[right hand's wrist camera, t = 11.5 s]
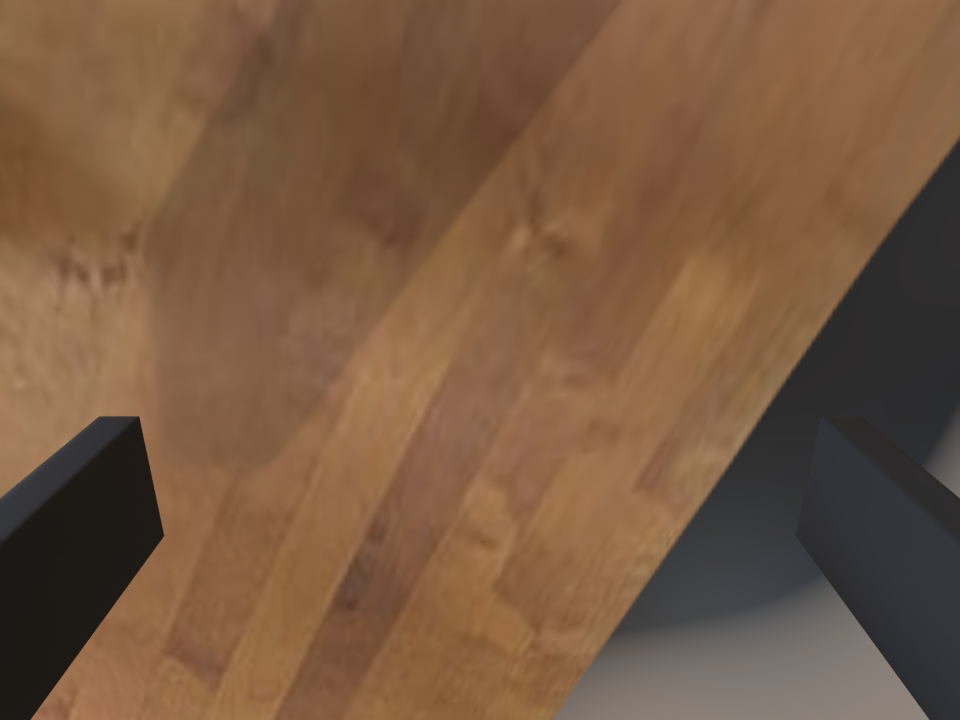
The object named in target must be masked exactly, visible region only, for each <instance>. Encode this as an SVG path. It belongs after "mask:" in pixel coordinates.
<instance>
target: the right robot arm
mask: <svg viewBox="0 0 960 720" xmlns="http://www.w3.org/2000/svg"><path fill="white" fill-rule="evenodd" d="M163 537H164V533H163V528H162V523H161V519H160V514H159V509H158V504H157V499H156V495H155V490H154V485H153V480H152V476H151V471H150V466H149V461H148V456H147V452H146V447H145V442H144V437H143V433H142V428H141V423H140V418H139V417H98V418H97V419H96V420H95V421H93V422H92V423H91V424H90V425H89V426H87V427H86V428H85V429H84V430H82V431H81V432H80V433H79V434H78V435H76V436H75V437H74V438H73V439H72V440H70V441H69V442H68V443H67V444H66V445H64V446H63V447H62V448H61V449H59V450H58V451H57V452H56V453H55V454H53V455H52V456H51V457H50V458H49V459H47V460H46V461H45V462H44V463H43V464H41V465H40V466H39V467H38V468H36V469H35V470H34V471H33V472H32V473H30V474H29V475H28V476H27V477H26V478H24V479H23V480H22V481H21V482H20V483H18V484H17V485H16V486H15V487H13V488H12V489H11V490H10V491H9V492H7V493H6V494H5V495H4V496H3V497H1V498H0V720H31V718H32V717H33V715H34V714H35V713H36V711H37V710H38V709H39V707H40V706H41V704H42V703H43V702H44V700H45V699H46V698H47V696H48V695H49V693H50V692H51V691H52V689H53V688H54V687H55V685H56V684H57V682H58V681H59V680H60V678H61V677H62V676H63V674H64V673H65V671H66V670H67V669H68V667H69V666H70V665H71V663H72V662H73V660H74V659H75V658H76V656H77V655H78V654H79V652H80V651H81V649H82V648H83V647H84V645H85V644H86V643H87V641H88V640H89V639H90V637H91V636H92V634H93V633H94V632H95V630H96V629H97V628H98V626H99V625H100V623H101V622H102V621H103V619H104V618H105V617H106V615H107V614H108V612H109V611H110V610H111V608H112V607H113V606H114V604H115V603H116V601H117V600H118V599H119V597H120V596H121V595H122V593H123V592H124V590H125V589H126V588H127V586H128V585H129V584H130V582H131V581H132V579H133V578H134V577H135V575H136V574H137V573H138V571H139V570H140V568H141V567H142V566H143V564H144V563H145V562H146V560H147V559H148V557H149V556H150V555H151V553H152V552H153V551H154V549H155V548H156V546H157V545H158V544H159V542H160V541H161V540H162V538H163ZM796 537H797V538H798V540H799V541H800V542H801V544H802V545H803V546H804V548H805V549H806V551H807V552H808V553H809V555H810V556H811V557H812V559H813V560H814V561H815V563H816V564H817V566H818V567H819V568H820V570H821V571H822V573H823V574H824V575H825V577H826V578H827V579H828V581H829V582H830V584H831V585H832V586H833V588H834V589H835V590H836V592H837V593H838V595H839V596H840V597H841V599H842V600H843V601H844V603H845V604H846V605H847V607H848V608H849V610H850V611H851V612H852V614H853V615H854V617H855V618H856V619H857V621H858V622H859V623H860V625H861V626H862V627H863V629H864V630H865V632H866V633H867V634H868V636H869V637H870V639H871V640H872V641H873V643H874V644H875V645H876V647H877V648H878V649H879V651H880V652H881V654H882V655H883V656H884V658H885V659H886V660H887V662H888V663H889V665H890V666H891V667H892V669H893V670H894V671H895V673H896V674H897V676H898V677H899V678H900V680H901V681H902V682H903V684H904V685H905V687H906V688H907V689H908V691H909V692H910V693H911V695H912V696H913V698H914V699H915V700H916V702H917V703H918V704H919V706H920V707H921V709H922V710H923V711H924V713H925V714H926V715H927V717H928V718H929V720H960V498H959V497H957V496H956V495H955V494H954V493H953V492H951V491H950V490H949V489H948V488H947V487H945V486H944V485H943V484H942V483H940V482H939V481H938V480H937V479H936V478H934V477H933V476H932V475H931V474H930V473H928V472H927V471H926V470H925V469H924V468H922V467H921V466H920V465H919V464H917V463H916V462H915V461H914V460H913V459H911V458H910V457H909V456H908V455H907V454H905V453H904V452H903V451H902V450H900V449H899V448H898V447H897V446H896V445H894V444H893V443H892V442H891V441H890V440H888V439H887V438H886V437H885V436H883V435H882V434H881V433H880V432H879V431H877V430H876V429H875V428H874V427H873V426H871V425H870V424H869V423H868V422H867V421H865V420H864V419H863V418H862V417H821V418H820V423H819V428H818V433H817V437H816V442H815V447H814V452H813V456H812V461H811V466H810V471H809V476H808V480H807V485H806V490H805V495H804V500H803V505H802V509H801V514H800V519H799V523H798V528H797V533H796Z"/></svg>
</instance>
